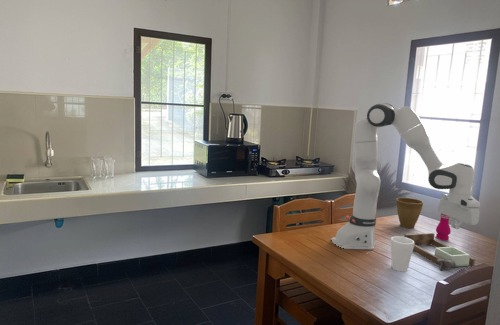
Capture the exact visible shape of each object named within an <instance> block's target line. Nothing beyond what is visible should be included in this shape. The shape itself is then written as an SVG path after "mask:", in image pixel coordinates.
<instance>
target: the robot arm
mask: <svg viewBox="0 0 500 325" xmlns="http://www.w3.org/2000/svg"><path fill="white" fill-rule="evenodd" d="M386 126H394V129H396V130H397V132H398V134H399V136H400V137H401V139H402V141H403V142H404V143H405V144H406V145H407V147H409V148H410V149H412V150H414V151H415V152H417V153H418V155H419V157H420V158H421V160H422V161H423V163H424V165H425V166H426V169H427V172H428V177H427V178H428V183H429V185H430V187H432V188H433V189H436V190H448V194H446V193H444V194H442V195H440V196H441V198H440V199H439V202H438V206H437V211H438V213H439V214H441V213H442V214H444V215H447V216H449V217H450V218H449V221H450V223H451V225H450V226H451V227H450V228H453V229H456V230H459V229H460V227H461V225H462V223H465V224H467V225H471V226H474V225H478V224H479V220H480V207H481V202H480V201H479V200H477V199H476V198H474V196H472V194H473V193H472V188H473V186H474V179H475V169H474V167H473V166H472V165H470V164H468V163H465V162H461V161H459V162H458V161H456V162H454V163H453V164H449V165H446V164H443V163H442V162H441V161H440V159H439V157H438V156H437V154H436V153H435V151H434V149H433V147H432V146H431V142H430V141H431V140H430V136H429V133H428V131H427V129H426V126H425V125H424V123H423V121H422V120H421V118H420V116H418V113H416V112H415V110H413V109H412V107H410V106H401V107H399V108H396V109H395V108H394V106H393V105H391V104H390V103H387V102H380V103H377V104H373V106H371V107H369V109H368V110H367V112H366V117H365V118H361V119H359V120H357V121H356V122H355V124H354V128H353V129H354V132H353V143H354V144H353V148H354V178H355V182H356V188H355V195H354V200H353V209H352V215H351V216H349V215H346V216H345V219H346V220H348V222H347V223H345V224H344V225H343V226H341V227H340V228H338V230H337V232H336V234H335V237H331V240H332V241H331V242H332V243H333V244H334V245H335V244H336V245H335V246H336V247H338V246H339V247H338V248H340V247H341V249H343V248H344V249H343V250H374V248H375V247H376V246H377V243H376V236H375V235H376V234H375V228H376V225H377V217H376V214H377V206H378V205H377V204H378V198H379V194H380V188H381V182H382V180H381V177H380V175H379V172H378V159H379V154H378V153H379V152H378V148H379V147H378V130H379V128H382V127H386Z"/></svg>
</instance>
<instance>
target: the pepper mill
mask: <svg viewBox="0 0 500 325" xmlns="http://www.w3.org/2000/svg"><path fill="white" fill-rule="evenodd" d="M439 217H440V220H439V223H438V224H437V225H436V228H435V232H436V234H435V238H436V240H437V239H438V240H440V241H449V239H450V236H449V235H450V234H451V232H452V231H451V227H450V226H451V225H450V223H449V222H450V217H449V216H447V215H444V214H442V213H439Z"/></svg>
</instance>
